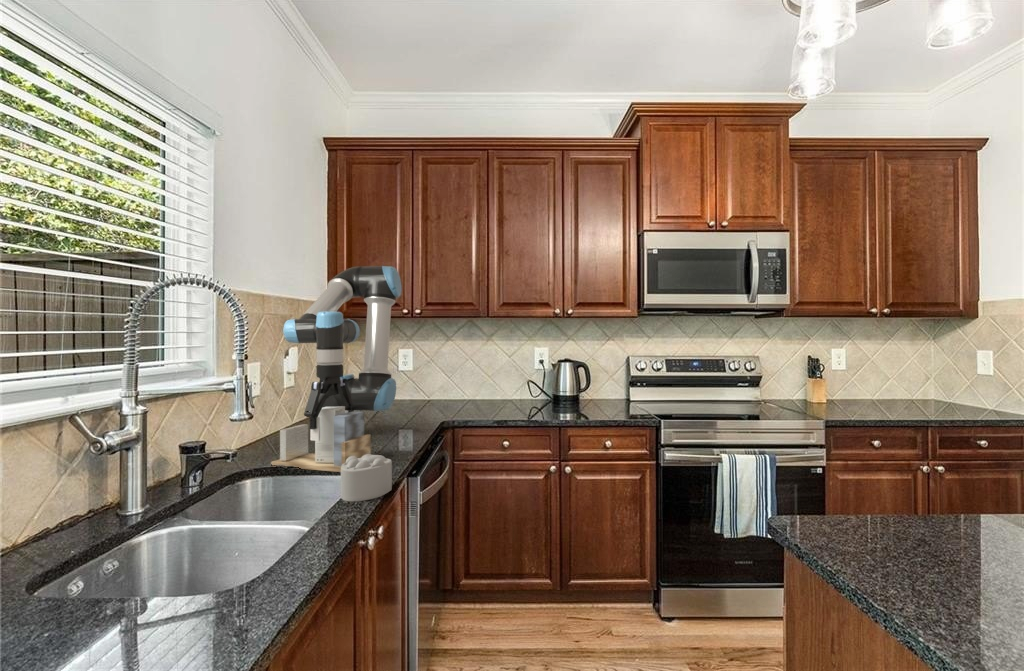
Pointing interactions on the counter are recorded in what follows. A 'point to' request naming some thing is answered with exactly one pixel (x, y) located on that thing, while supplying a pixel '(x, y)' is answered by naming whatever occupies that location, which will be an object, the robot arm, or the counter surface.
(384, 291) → the robot arm
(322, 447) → the skincare box
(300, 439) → the grey rectangular slab
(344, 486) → the lumpy-topped squat cylinder
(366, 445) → the book rack
